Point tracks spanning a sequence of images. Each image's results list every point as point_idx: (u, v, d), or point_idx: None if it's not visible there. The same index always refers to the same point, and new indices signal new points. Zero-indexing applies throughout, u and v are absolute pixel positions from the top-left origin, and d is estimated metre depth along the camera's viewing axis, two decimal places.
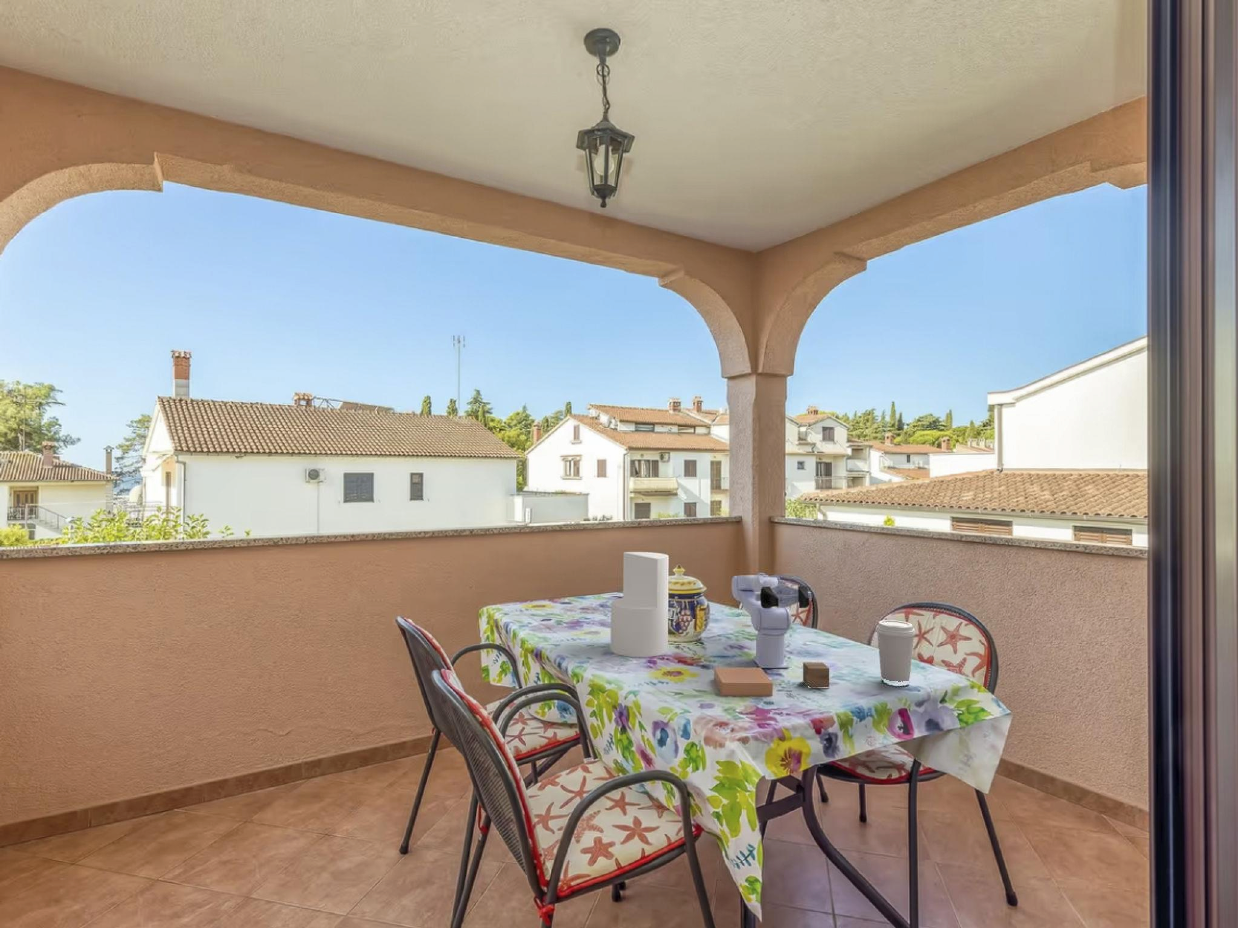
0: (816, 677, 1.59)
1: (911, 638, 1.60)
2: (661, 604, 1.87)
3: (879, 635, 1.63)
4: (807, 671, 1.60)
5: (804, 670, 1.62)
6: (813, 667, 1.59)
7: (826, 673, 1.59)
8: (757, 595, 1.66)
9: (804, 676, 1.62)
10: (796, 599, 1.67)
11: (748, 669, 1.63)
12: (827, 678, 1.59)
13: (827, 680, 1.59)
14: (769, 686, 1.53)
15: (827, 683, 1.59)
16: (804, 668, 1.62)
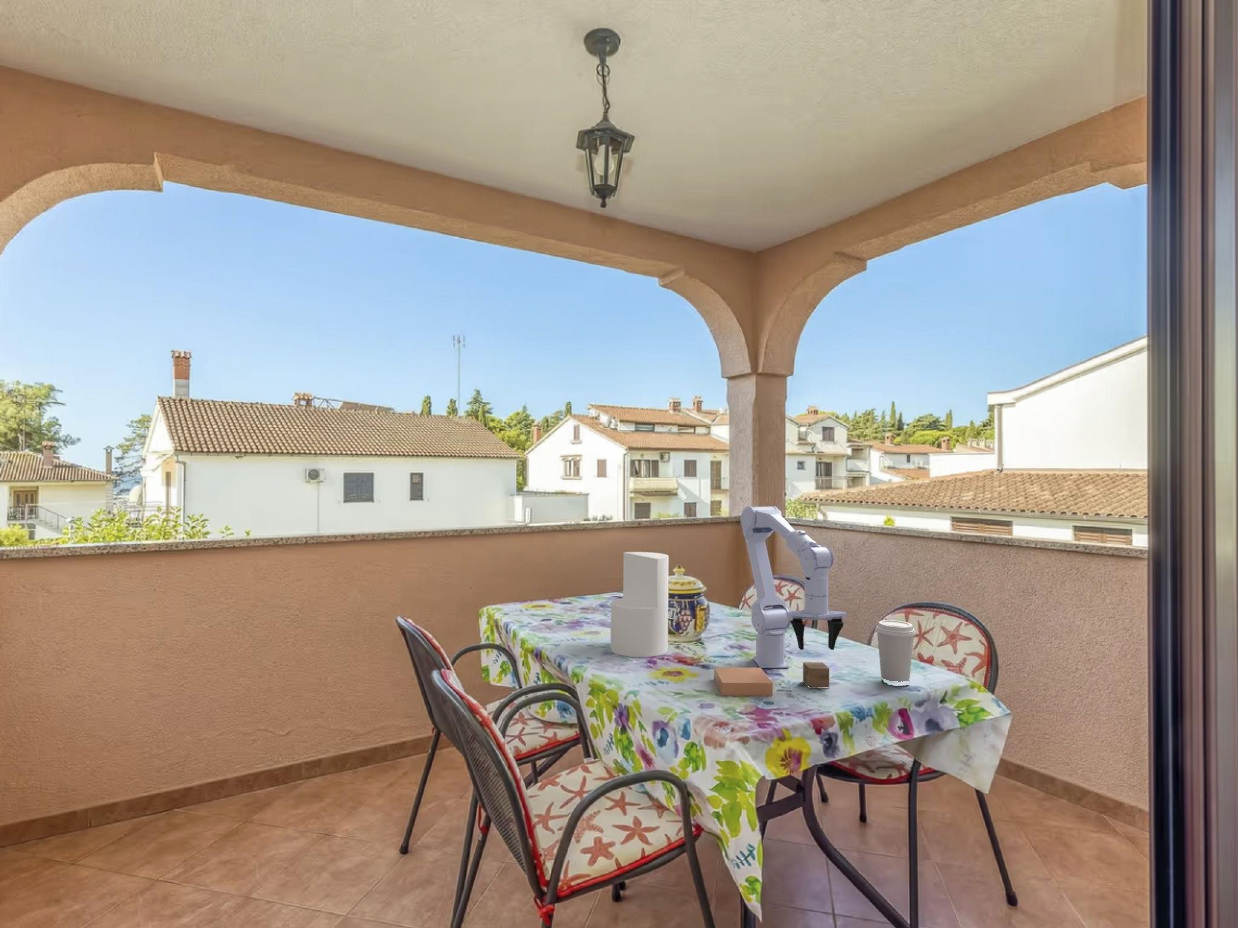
0: (816, 677, 1.59)
1: (911, 638, 1.60)
2: (661, 604, 1.87)
3: (879, 635, 1.63)
4: (807, 671, 1.60)
5: (804, 670, 1.62)
6: (813, 667, 1.59)
7: (826, 674, 1.59)
8: None
9: (804, 676, 1.62)
10: None
11: (748, 669, 1.63)
12: (827, 678, 1.59)
13: (827, 680, 1.59)
14: (769, 686, 1.53)
15: (827, 683, 1.59)
16: (804, 668, 1.62)
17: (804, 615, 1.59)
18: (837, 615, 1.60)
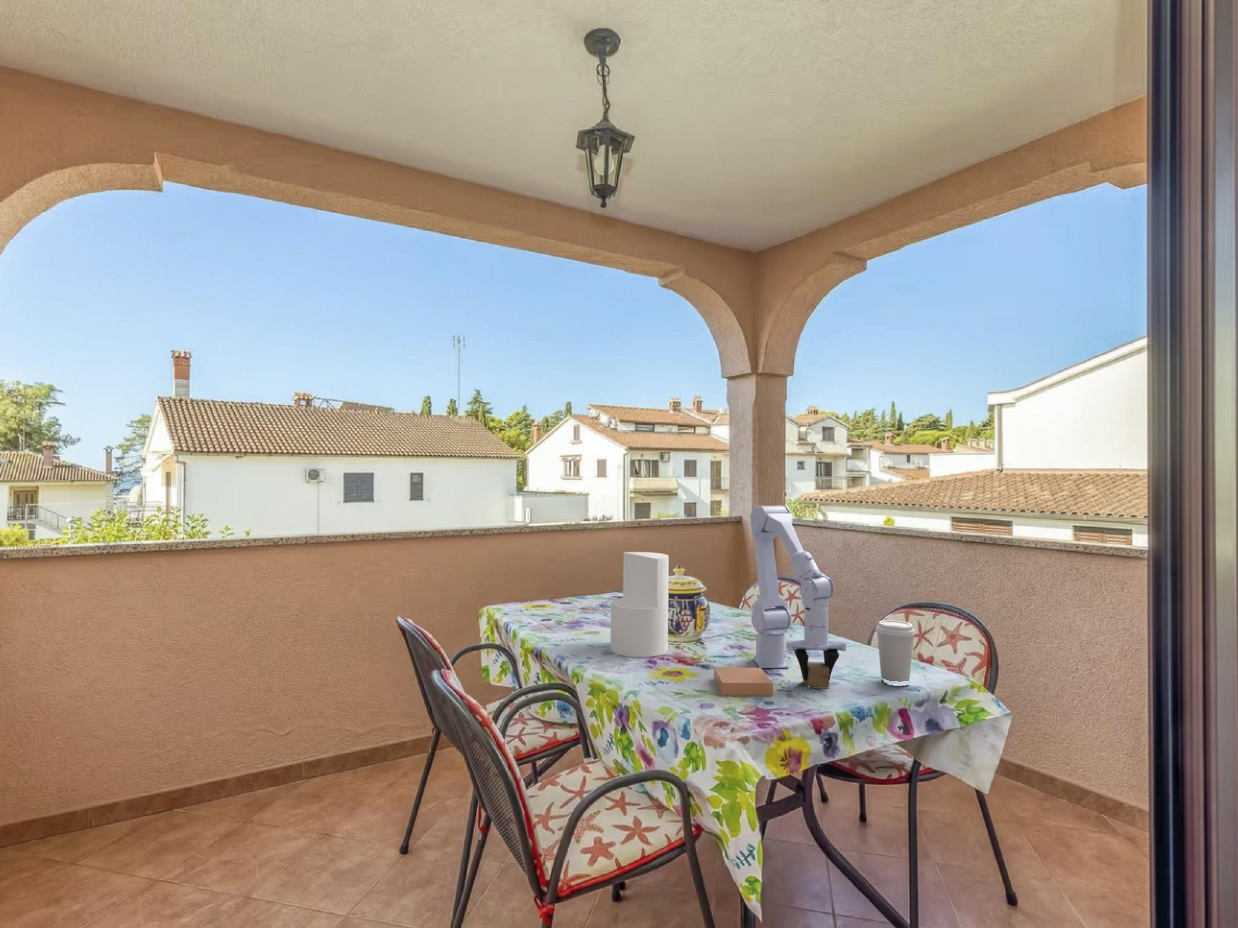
0: (816, 677, 1.59)
1: (911, 638, 1.60)
2: (661, 604, 1.87)
3: (879, 635, 1.63)
4: None
5: None
6: (813, 667, 1.59)
7: (826, 673, 1.59)
8: None
9: None
10: None
11: (748, 669, 1.63)
12: (827, 677, 1.59)
13: (827, 680, 1.59)
14: (769, 686, 1.53)
15: (827, 683, 1.59)
16: None
17: (804, 646, 1.59)
18: (837, 646, 1.60)
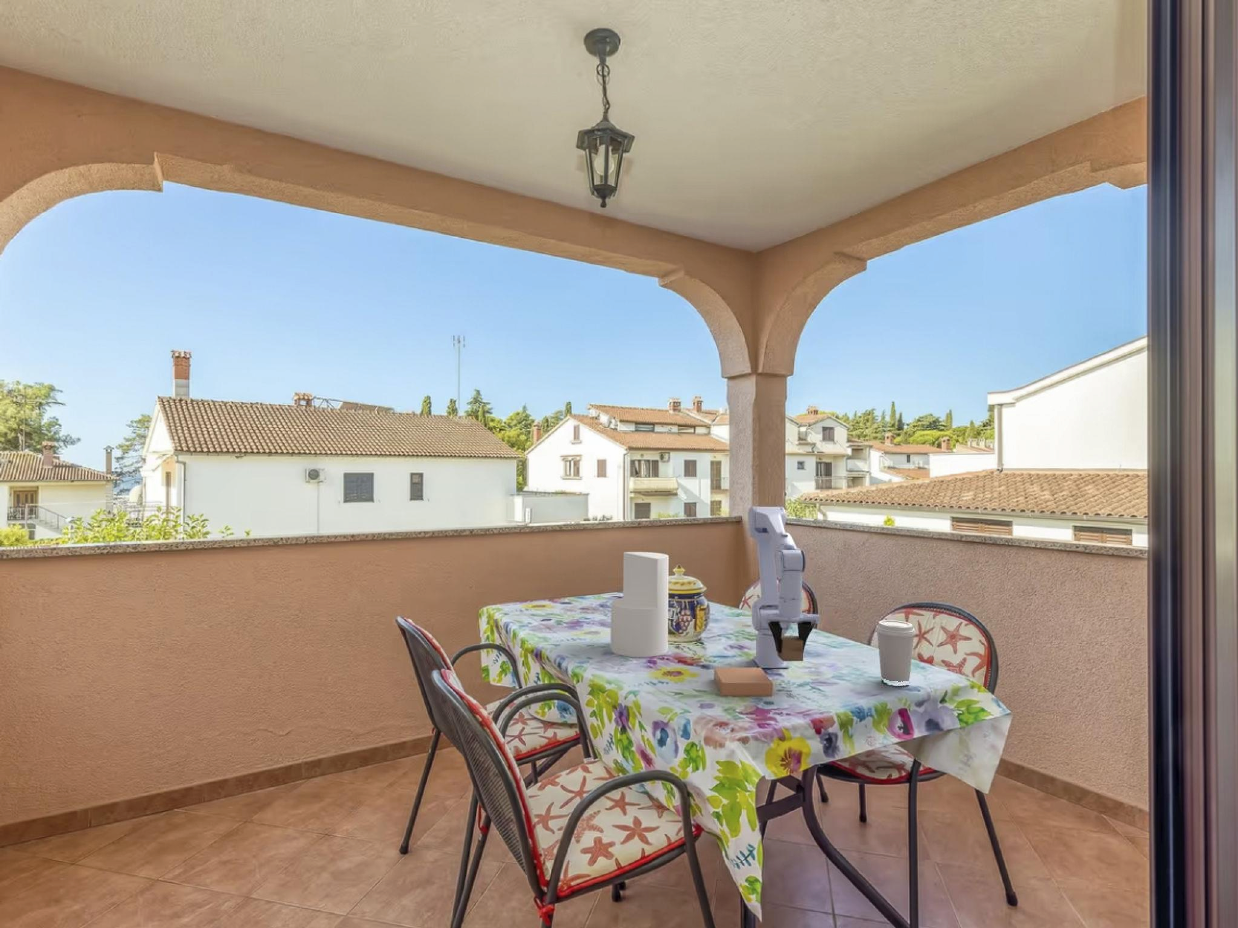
0: (790, 650, 1.58)
1: (911, 638, 1.60)
2: (661, 604, 1.87)
3: (879, 635, 1.63)
4: (781, 644, 1.59)
5: None
6: (787, 640, 1.59)
7: (800, 646, 1.58)
8: None
9: None
10: None
11: (748, 669, 1.63)
12: (801, 650, 1.58)
13: (801, 652, 1.58)
14: (769, 686, 1.53)
15: (801, 655, 1.58)
16: None
17: (778, 618, 1.58)
18: (811, 618, 1.59)
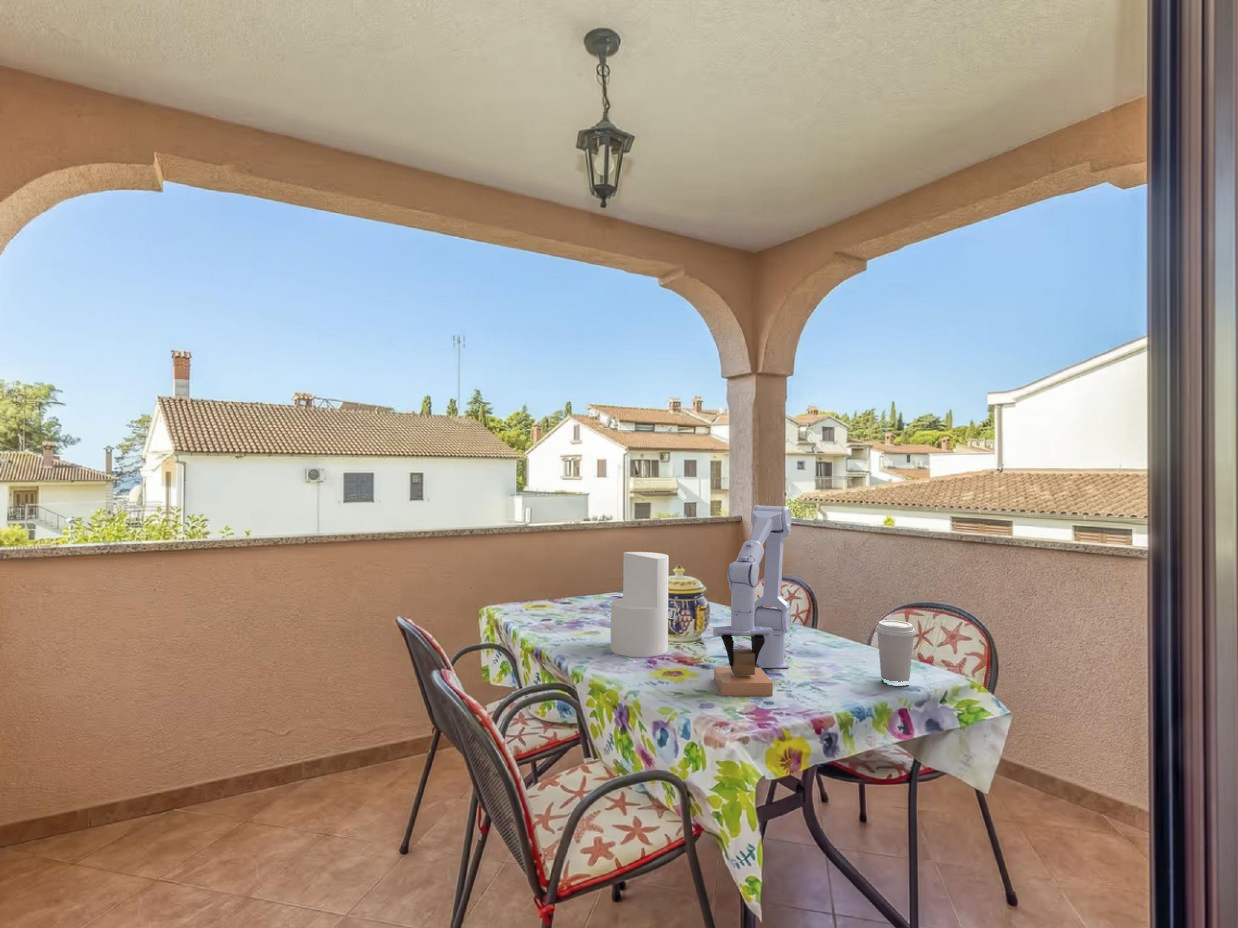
0: (741, 663, 1.56)
1: (911, 638, 1.60)
2: (661, 604, 1.87)
3: (879, 635, 1.63)
4: (733, 657, 1.57)
5: None
6: (739, 653, 1.57)
7: (752, 659, 1.56)
8: None
9: None
10: None
11: None
12: (752, 664, 1.56)
13: (753, 666, 1.56)
14: (769, 686, 1.53)
15: (753, 669, 1.56)
16: None
17: (729, 631, 1.57)
18: (763, 631, 1.58)
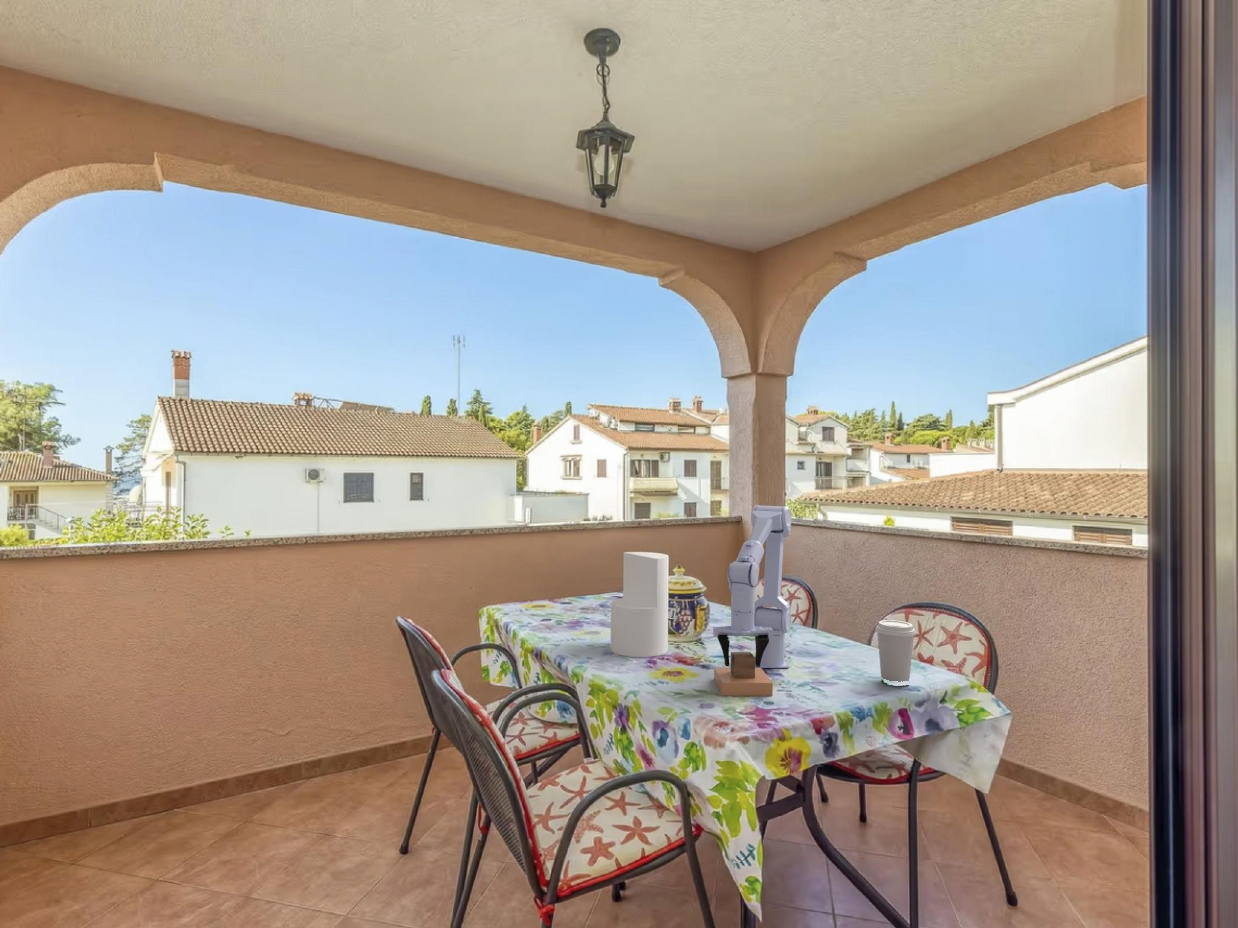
0: (742, 667, 1.56)
1: (911, 638, 1.60)
2: (661, 604, 1.87)
3: (879, 635, 1.63)
4: (733, 661, 1.57)
5: (731, 660, 1.60)
6: (739, 657, 1.57)
7: (752, 663, 1.56)
8: None
9: (731, 666, 1.60)
10: None
11: None
12: (753, 668, 1.56)
13: (753, 670, 1.56)
14: (769, 686, 1.53)
15: (753, 673, 1.56)
16: (731, 658, 1.60)
17: (729, 631, 1.57)
18: (763, 631, 1.58)
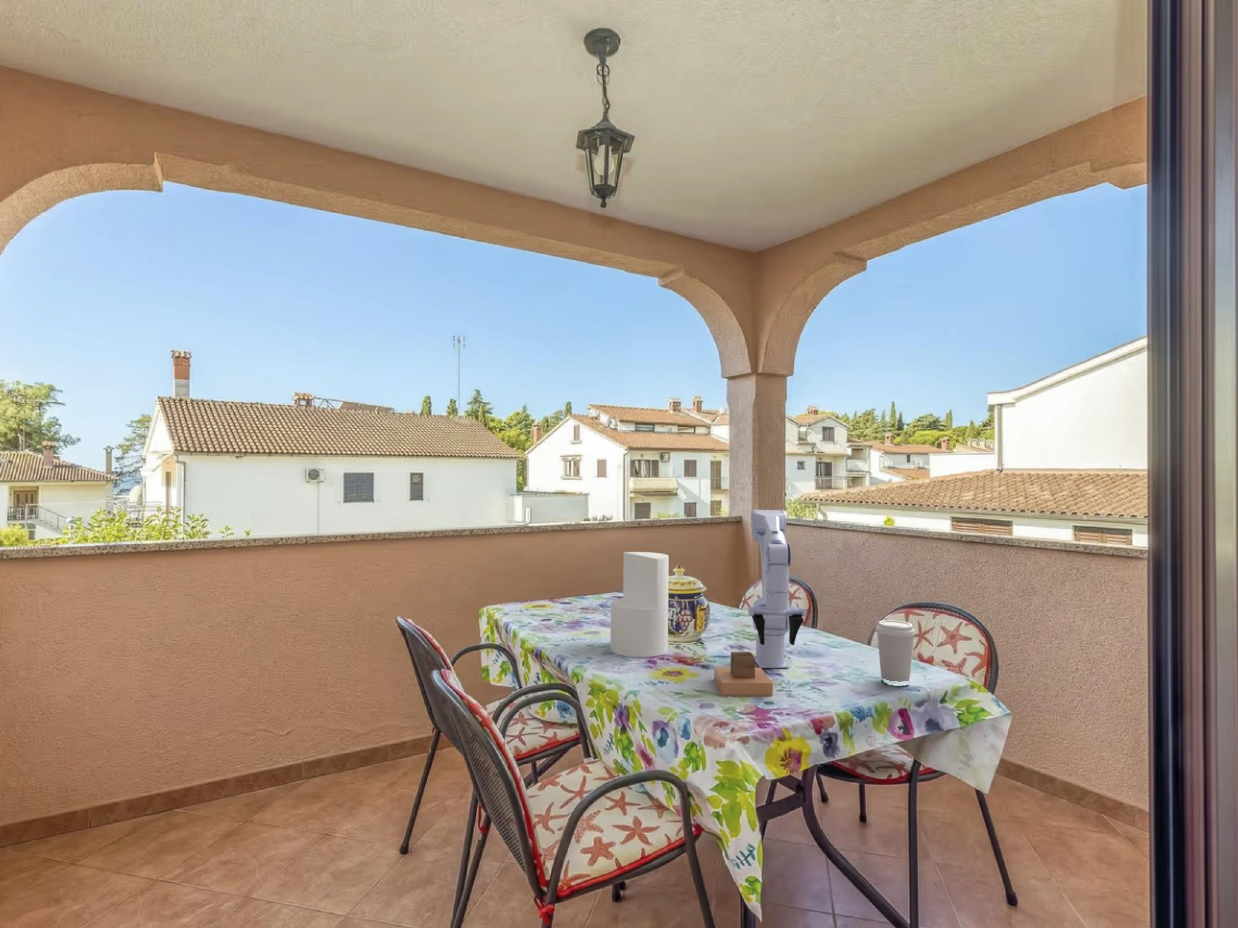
0: (742, 667, 1.56)
1: (911, 638, 1.60)
2: (661, 604, 1.87)
3: (879, 635, 1.63)
4: (733, 661, 1.57)
5: (731, 660, 1.60)
6: (739, 657, 1.57)
7: (752, 663, 1.56)
8: None
9: (731, 666, 1.60)
10: None
11: None
12: (753, 668, 1.56)
13: (753, 670, 1.56)
14: (769, 686, 1.53)
15: (753, 673, 1.56)
16: (731, 658, 1.60)
17: (765, 611, 1.62)
18: (797, 611, 1.63)
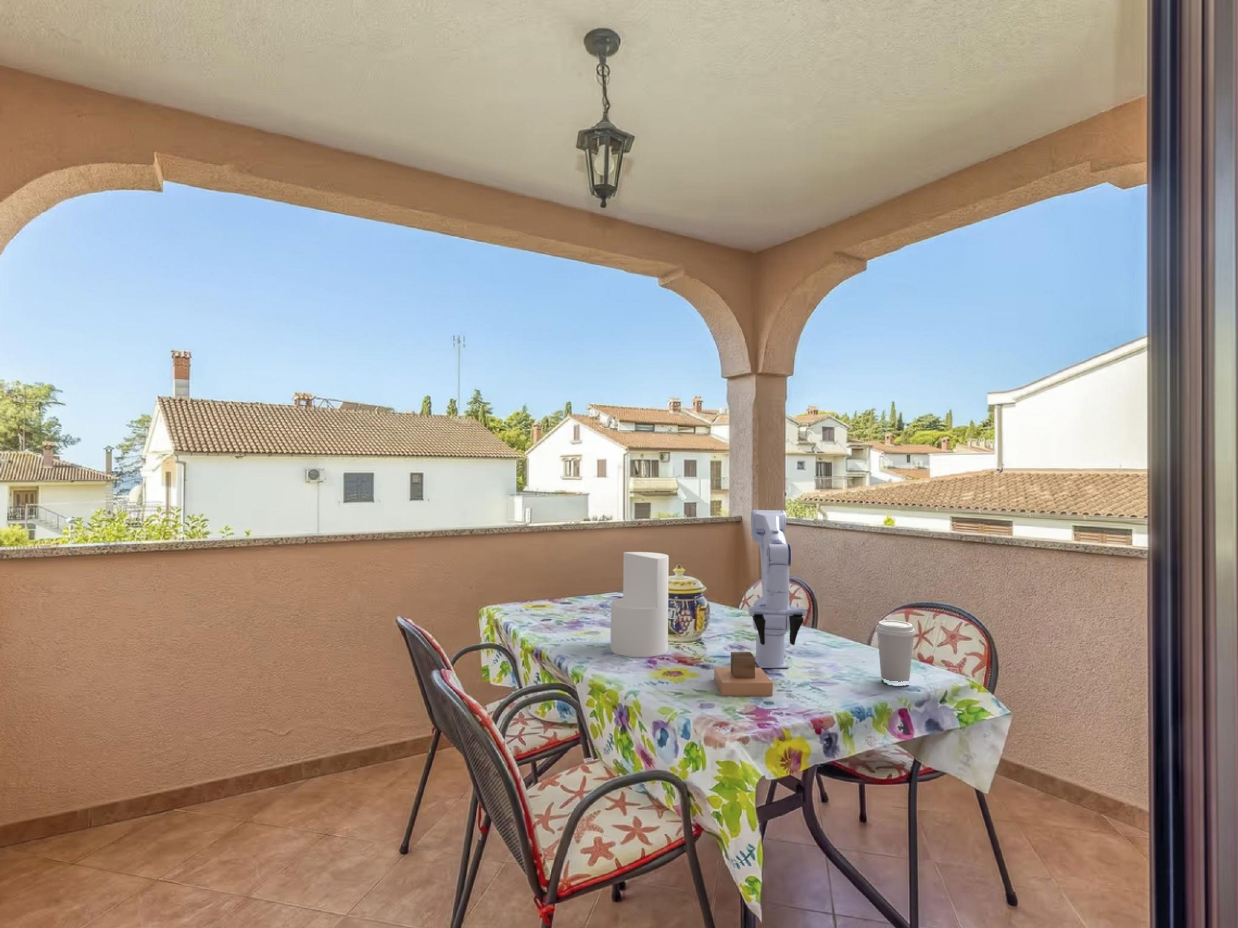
0: (742, 667, 1.56)
1: (911, 638, 1.60)
2: (661, 604, 1.87)
3: (879, 635, 1.63)
4: (733, 661, 1.57)
5: (731, 660, 1.60)
6: (739, 657, 1.57)
7: (752, 663, 1.56)
8: None
9: (731, 666, 1.60)
10: None
11: None
12: (753, 668, 1.56)
13: (753, 670, 1.56)
14: (769, 686, 1.53)
15: (753, 673, 1.56)
16: (731, 658, 1.60)
17: (765, 611, 1.62)
18: (798, 611, 1.63)
